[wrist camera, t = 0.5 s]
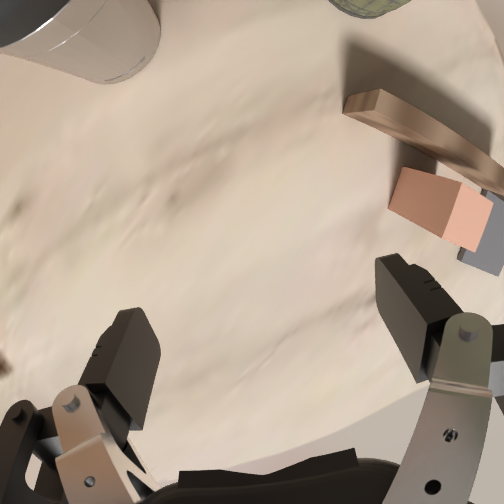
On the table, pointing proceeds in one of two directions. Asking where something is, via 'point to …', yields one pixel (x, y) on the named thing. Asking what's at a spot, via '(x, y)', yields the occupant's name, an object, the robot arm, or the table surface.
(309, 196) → the table surface
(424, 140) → the walnut screen
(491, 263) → the charcoal mat
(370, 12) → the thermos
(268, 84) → the table surface
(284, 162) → the table surface
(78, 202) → the table surface
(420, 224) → the marked block
